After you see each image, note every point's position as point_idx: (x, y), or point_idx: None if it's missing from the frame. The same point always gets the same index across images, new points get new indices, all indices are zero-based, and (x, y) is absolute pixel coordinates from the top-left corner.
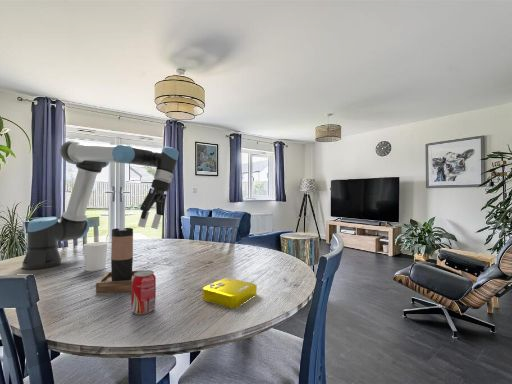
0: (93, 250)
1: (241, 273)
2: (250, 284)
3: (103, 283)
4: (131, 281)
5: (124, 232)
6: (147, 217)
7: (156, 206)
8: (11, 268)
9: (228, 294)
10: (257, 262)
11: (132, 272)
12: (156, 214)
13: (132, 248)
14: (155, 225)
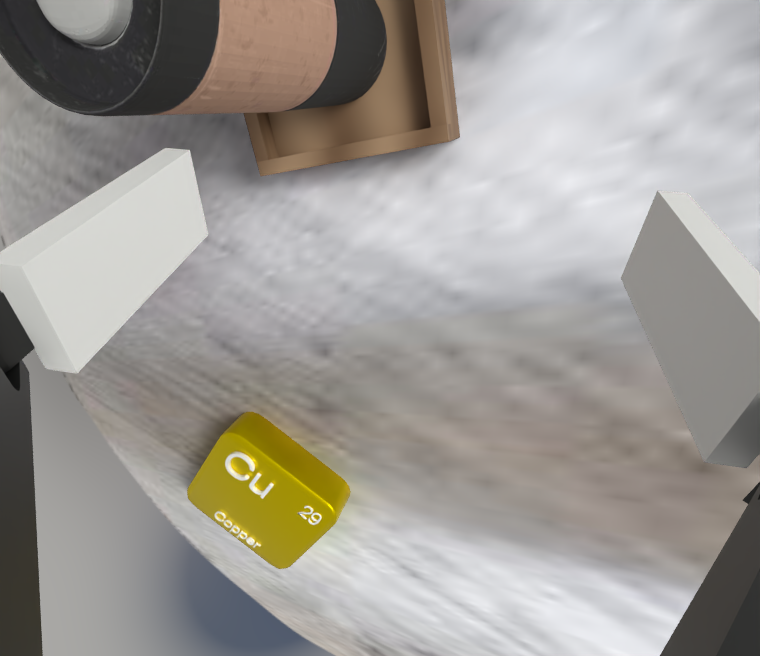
0: None
1: (518, 573)
2: (275, 556)
3: None
4: (253, 146)
5: (28, 60)
6: (124, 310)
7: (754, 569)
8: None
9: (193, 488)
10: None
11: (425, 68)
12: (757, 381)
13: (241, 112)
14: (647, 274)
